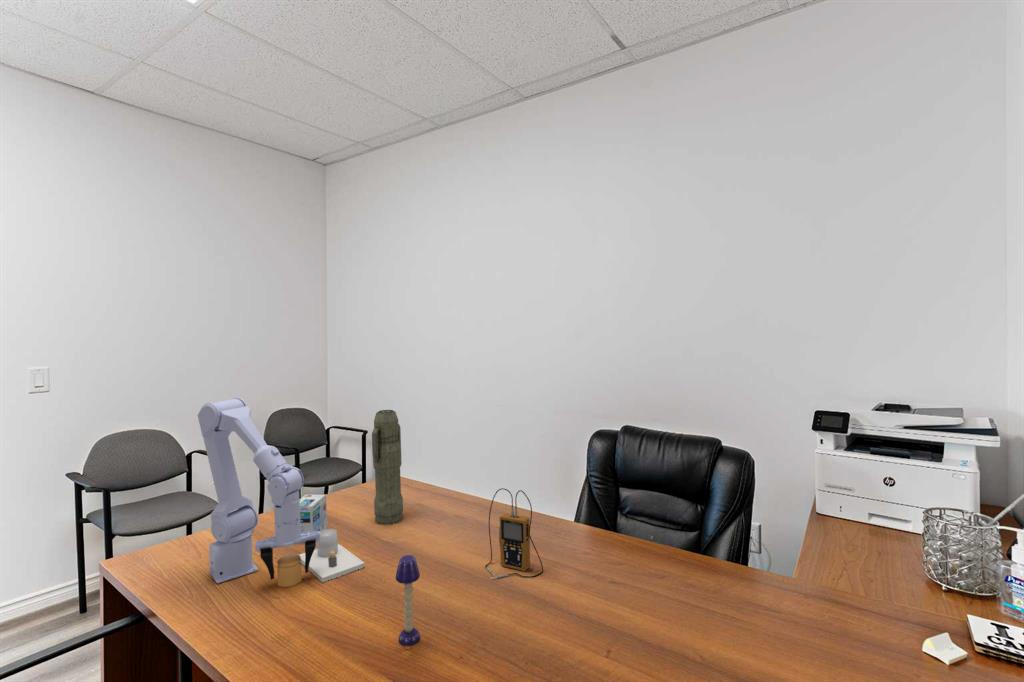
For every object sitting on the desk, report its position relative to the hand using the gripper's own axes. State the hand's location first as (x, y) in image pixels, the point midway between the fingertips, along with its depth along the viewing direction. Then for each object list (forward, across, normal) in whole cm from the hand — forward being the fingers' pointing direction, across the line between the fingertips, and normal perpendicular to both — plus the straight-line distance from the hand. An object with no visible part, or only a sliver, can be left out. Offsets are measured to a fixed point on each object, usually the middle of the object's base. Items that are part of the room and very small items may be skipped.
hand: (289, 574), depth 125 cm
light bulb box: (+2, +5, +27) cm, 28 cm away
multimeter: (+2, +50, -19) cm, 54 cm away
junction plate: (+2, +10, +6) cm, 11 cm away
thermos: (+2, +29, +30) cm, 41 cm away
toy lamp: (+2, +22, -35) cm, 42 cm away
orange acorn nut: (+2, 0, 0) cm, 2 cm away
